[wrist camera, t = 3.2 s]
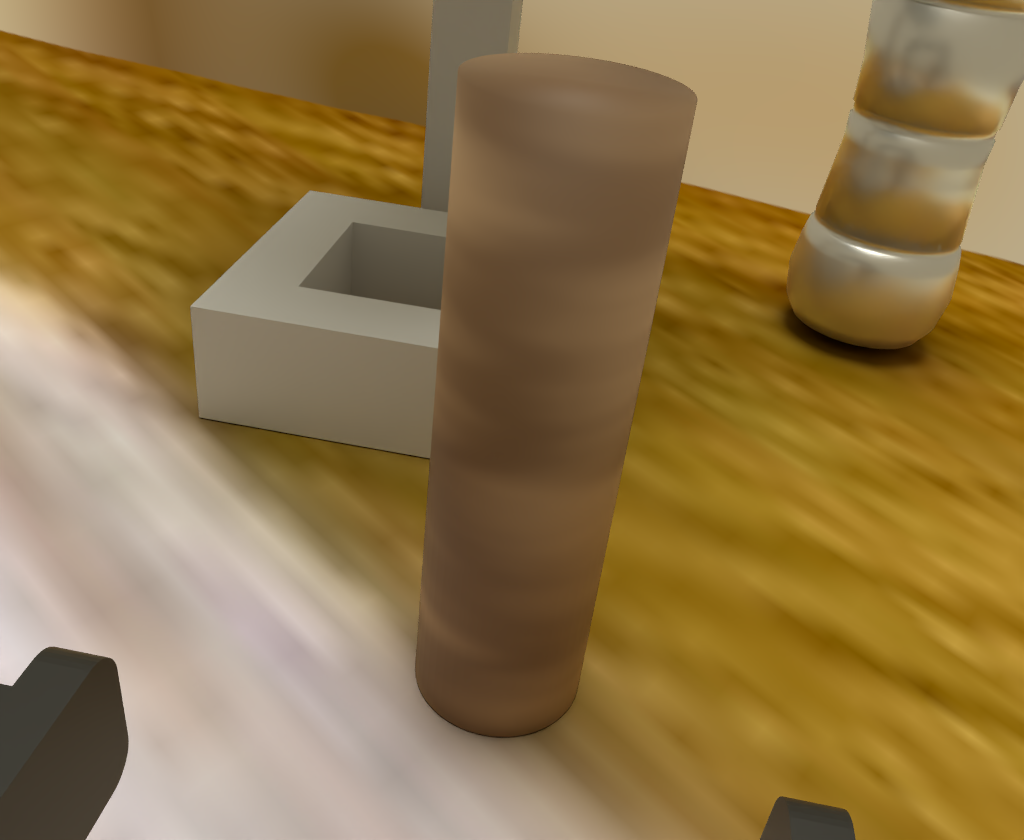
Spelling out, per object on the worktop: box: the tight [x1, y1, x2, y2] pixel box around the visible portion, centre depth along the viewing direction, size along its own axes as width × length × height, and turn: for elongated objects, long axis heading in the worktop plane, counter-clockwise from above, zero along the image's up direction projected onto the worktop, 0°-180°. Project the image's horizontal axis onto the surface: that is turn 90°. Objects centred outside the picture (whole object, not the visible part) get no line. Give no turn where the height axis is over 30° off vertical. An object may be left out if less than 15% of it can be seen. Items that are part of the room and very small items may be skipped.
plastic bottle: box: [786, 0, 1024, 349], centre depth 37 cm, size 6×7×20 cm
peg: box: [415, 53, 697, 737], centre depth 20 cm, size 4×4×14 cm
